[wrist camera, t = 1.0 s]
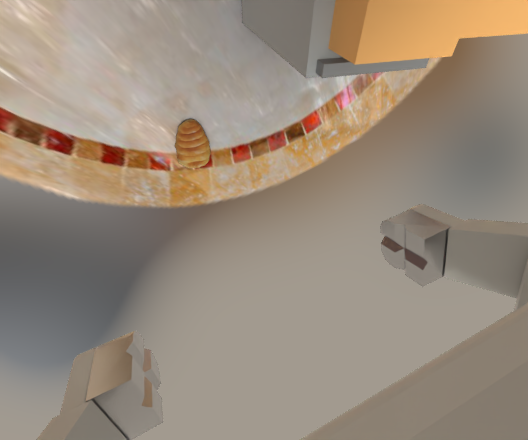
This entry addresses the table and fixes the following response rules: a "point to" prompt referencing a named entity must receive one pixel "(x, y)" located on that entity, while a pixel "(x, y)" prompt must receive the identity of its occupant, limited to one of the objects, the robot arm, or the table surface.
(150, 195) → the table surface
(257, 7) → the tall grey bin
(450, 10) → the lever
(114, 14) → the table surface
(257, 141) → the table surface
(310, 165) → the table surface
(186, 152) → the pastry
